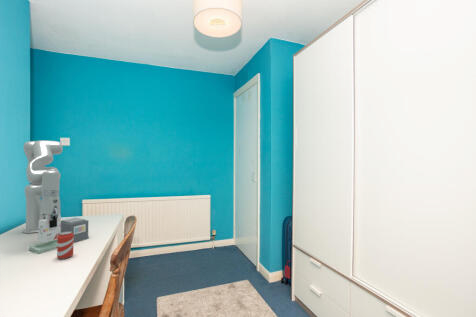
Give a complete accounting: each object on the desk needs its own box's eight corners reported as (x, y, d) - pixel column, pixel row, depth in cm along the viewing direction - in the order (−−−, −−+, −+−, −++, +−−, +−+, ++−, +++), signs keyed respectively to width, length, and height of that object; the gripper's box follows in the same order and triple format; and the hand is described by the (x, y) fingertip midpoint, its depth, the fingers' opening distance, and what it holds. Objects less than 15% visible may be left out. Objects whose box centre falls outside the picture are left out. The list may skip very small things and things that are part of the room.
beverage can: (53, 259, 109) (54, 234, 109) (67, 253, 115) (67, 230, 115) (63, 260, 108) (63, 235, 108) (76, 255, 114) (76, 231, 114)
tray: (28, 250, 119) (28, 246, 119) (59, 241, 132) (59, 238, 132) (38, 253, 115) (38, 250, 115) (69, 244, 127) (69, 241, 127)
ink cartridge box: (53, 236, 128) (54, 210, 128) (61, 237, 127) (61, 211, 127) (37, 242, 120) (38, 214, 120) (45, 243, 119) (45, 215, 119)
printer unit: (58, 240, 134) (58, 220, 134) (76, 235, 143) (76, 217, 143) (70, 243, 128) (70, 223, 129) (88, 238, 138) (88, 219, 138)
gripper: (67, 193, 123) (66, 226, 123) (50, 191, 131) (49, 222, 130) (50, 195, 116) (50, 230, 116) (34, 193, 124) (33, 226, 124)
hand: (50, 226), depth 123 cm, fingers closed on ink cartridge box, 5 cm apart
